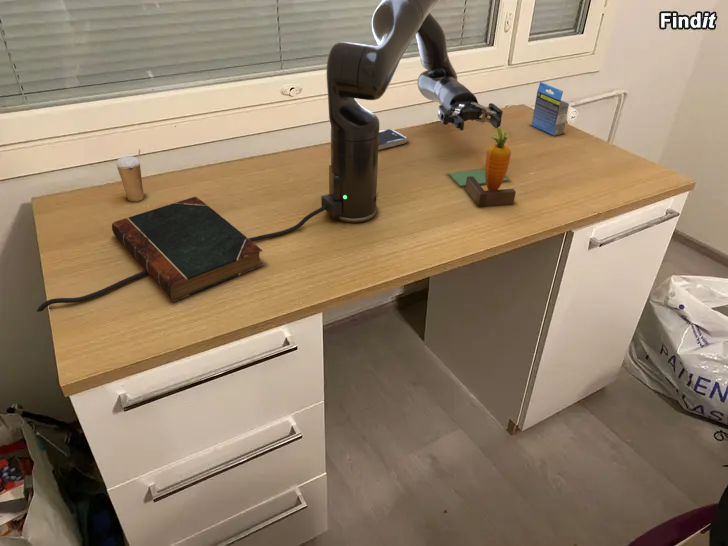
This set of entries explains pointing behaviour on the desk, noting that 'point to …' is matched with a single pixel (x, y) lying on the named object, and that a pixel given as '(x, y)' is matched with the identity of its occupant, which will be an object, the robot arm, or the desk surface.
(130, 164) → the milkshake
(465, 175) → the rag
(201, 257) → the book
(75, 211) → the desk surface
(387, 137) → the smartphone
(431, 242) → the desk surface
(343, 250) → the desk surface
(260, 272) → the desk surface
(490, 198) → the corner stop
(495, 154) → the carrot
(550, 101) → the label tape box
